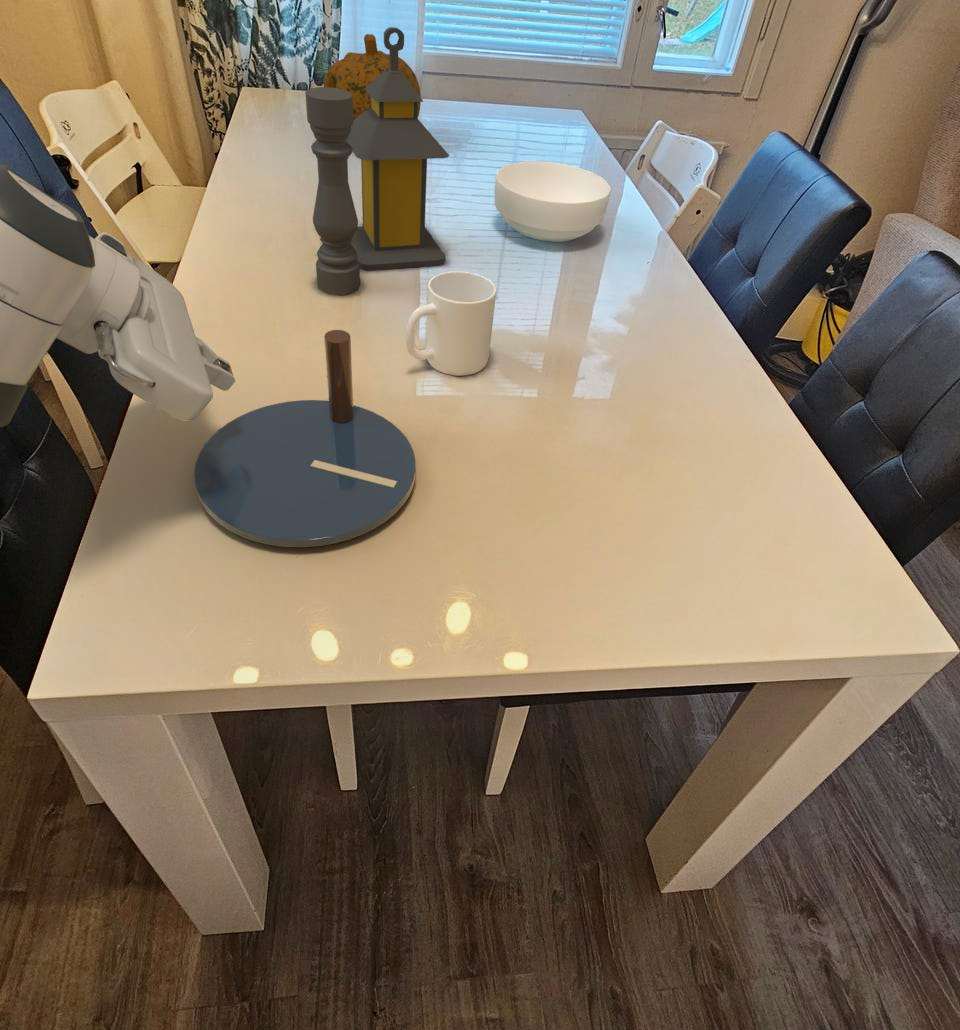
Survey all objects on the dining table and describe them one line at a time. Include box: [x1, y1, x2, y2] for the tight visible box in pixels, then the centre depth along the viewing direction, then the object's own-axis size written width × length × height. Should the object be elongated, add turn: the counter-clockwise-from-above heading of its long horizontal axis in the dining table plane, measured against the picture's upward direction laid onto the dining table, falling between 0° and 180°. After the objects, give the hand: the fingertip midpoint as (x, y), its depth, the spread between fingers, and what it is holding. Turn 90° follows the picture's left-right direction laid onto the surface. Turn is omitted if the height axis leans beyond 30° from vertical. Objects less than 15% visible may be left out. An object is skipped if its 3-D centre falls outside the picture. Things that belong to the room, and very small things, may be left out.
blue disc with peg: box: [193, 329, 417, 548], centre depth 69 cm, size 22×22×11 cm
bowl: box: [493, 160, 612, 243], centre depth 122 cm, size 20×20×8 cm
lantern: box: [347, 26, 450, 272], centre depth 104 cm, size 14×14×30 cm
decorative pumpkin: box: [323, 33, 422, 120], centre depth 145 cm, size 20×21×20 cm
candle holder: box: [304, 86, 361, 296], centre depth 95 cm, size 6×6×25 cm
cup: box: [405, 270, 497, 377], centre depth 88 cm, size 8×12×10 cm
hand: (229, 378), depth 70 cm, fingers closed
